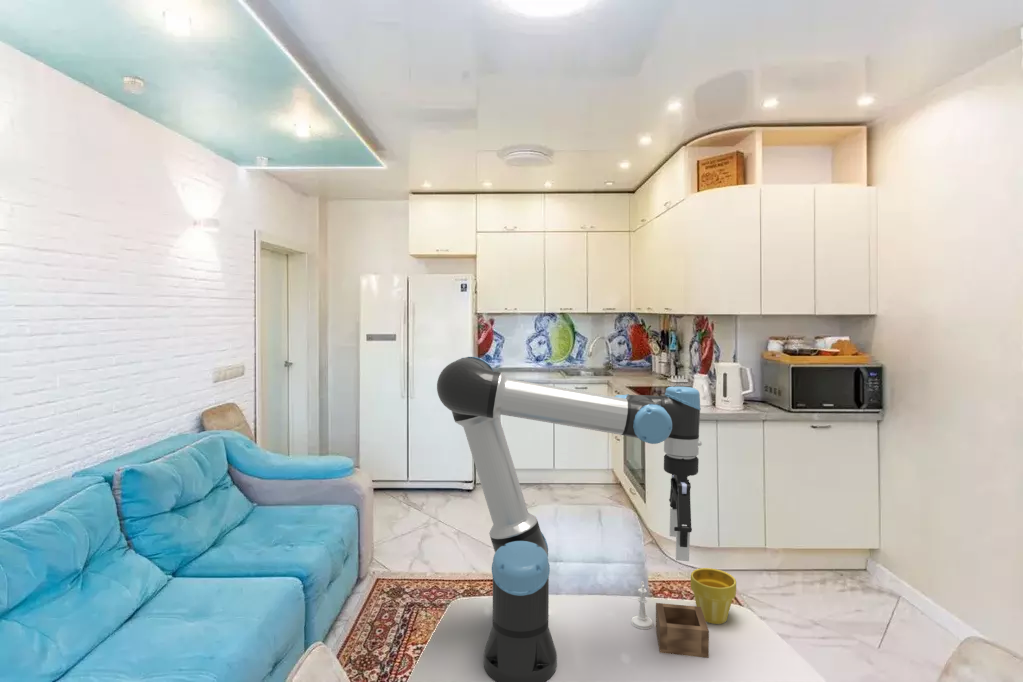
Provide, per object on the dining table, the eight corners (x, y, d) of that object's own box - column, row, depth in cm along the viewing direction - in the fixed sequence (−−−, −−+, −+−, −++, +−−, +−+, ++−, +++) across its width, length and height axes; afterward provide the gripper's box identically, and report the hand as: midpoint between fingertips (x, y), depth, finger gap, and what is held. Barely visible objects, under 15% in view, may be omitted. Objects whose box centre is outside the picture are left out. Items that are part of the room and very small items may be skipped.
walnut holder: (659, 653, 116) (660, 626, 116) (655, 628, 126) (655, 602, 125) (708, 658, 114) (708, 630, 114) (700, 632, 124) (700, 606, 124)
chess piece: (633, 629, 125) (634, 586, 124) (629, 617, 130) (630, 576, 129) (655, 629, 125) (655, 587, 124) (650, 618, 129) (650, 577, 129)
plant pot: (740, 631, 124) (740, 589, 124) (693, 626, 126) (693, 585, 126) (731, 608, 134) (731, 569, 134) (687, 604, 136) (688, 565, 136)
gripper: (707, 470, 109) (704, 573, 110) (690, 444, 134) (688, 528, 134) (669, 467, 111) (666, 569, 111) (659, 442, 135) (657, 526, 136)
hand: (678, 547), depth 123 cm, fingers open, 13 cm apart
